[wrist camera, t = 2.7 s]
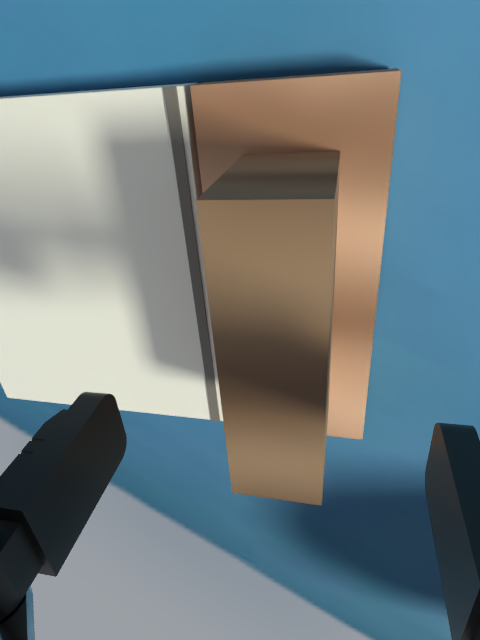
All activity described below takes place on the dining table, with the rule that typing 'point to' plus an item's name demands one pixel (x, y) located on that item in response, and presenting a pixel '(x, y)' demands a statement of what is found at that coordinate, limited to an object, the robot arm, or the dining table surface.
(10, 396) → the ticket booklet
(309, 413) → the plate with raised bar
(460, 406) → the dining table surface
